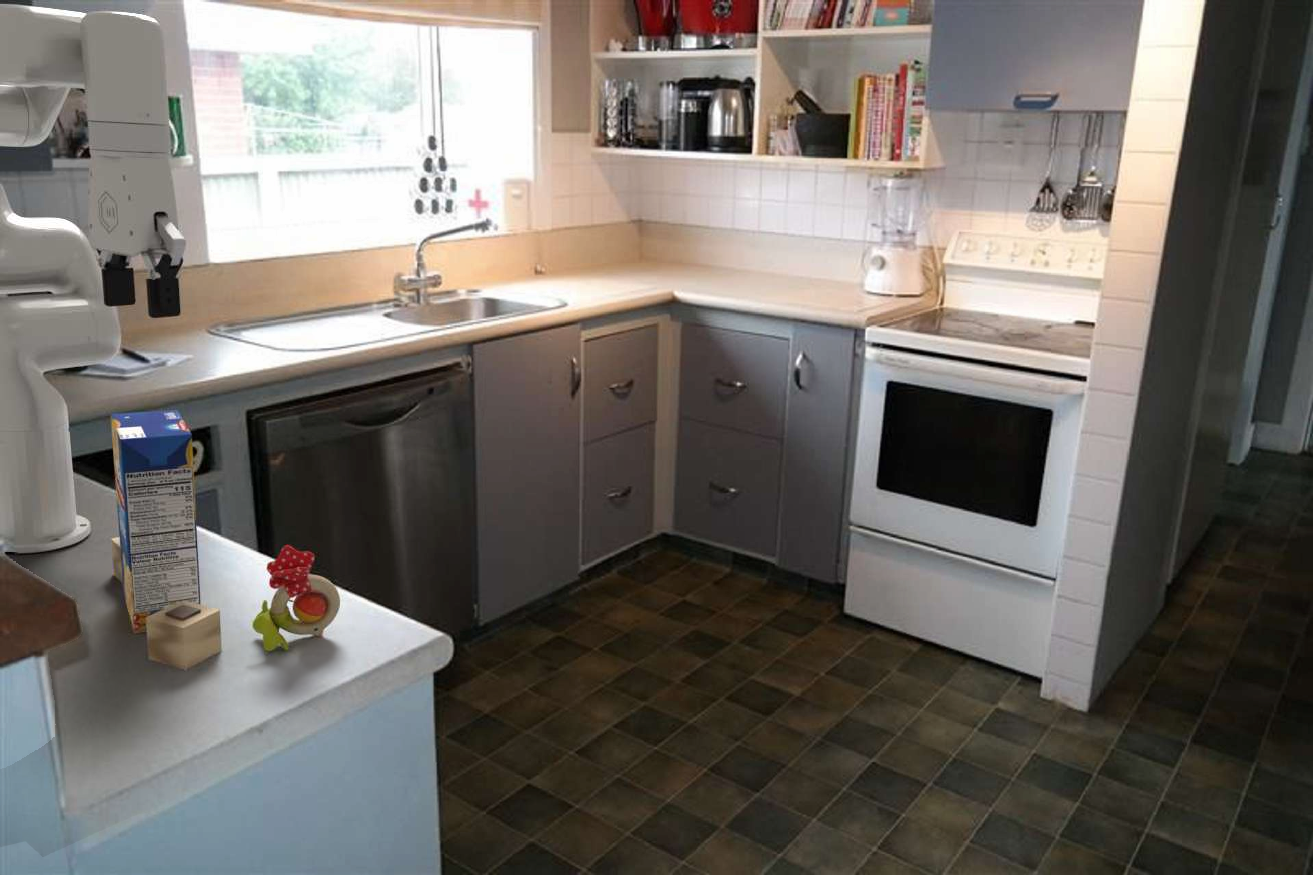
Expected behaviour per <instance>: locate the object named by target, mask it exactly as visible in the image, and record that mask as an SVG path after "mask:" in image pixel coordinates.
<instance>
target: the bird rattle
mask: <svg viewBox="0 0 1313 875" xmlns="http://www.w3.org/2000/svg"><path fill="white" fill-rule="evenodd" d="M315 557H316V556H315V554H314V553H313V552H311V551H306V550H305V551H299V550H297V549H295V548H294V547H292V546H291V545H289V544H286V545H284V547H282V549H281V550H280V553H279V555H278V557H277V559H275V560H272V561H269V562H268V563H267V566H266V571H267V573H268V574H269V575H270V578H269V582H268V584H269V587H270V588H271V589H274V590H276V591H275V593H274V594H273V597H272V600H271V604H270V608H268V601H267V599H264V600H263V602H262V604H261V605H262V606H261V611H260V612H259V613H258V614H257V615H256V617H254V620H253V621H252V629H253V630H254V632H256V633H258V634H261V635H262V642H263V647H264V649H265V650H266V651H268V652H269V651H271V652H272V651H273V650H275V649H276V648H277V647H278V645H279V646H280V647H281V648H282V649H283V650H284V651H286V652H288V651H289V649H290V645H289V643H288V642H287V640H286V639H285V637H284V636H283V635H282V634H281V633H280V629H281V630H283V631H285V632H288V633H289V634H293V635H298V636H306V635H307V636H308V635H311V636H315V637H321V636H322V635H323V634H324V630H325V629H326V628H327V627H328V626H330V625H331V624H332V623H333V621H334V620H335V618H336V617H337V615H338V613H339V610H340V606H341V599H340V598H341V597H340V594H339V591H338V589H337V587H336V586H335V585H334V584H333V583H332V582H331V580H329V579H327V578H326V577H323V576H321V575H318V574H317V575H316V574H310V572H311V569H312V567H313V563H314V561H315ZM293 598H294V600H292V599H293ZM289 602H291V603H292V612H293V614H294V616H295V618H294V617H293V615H292V614H291V611H290V608H289V606H288V605H287V604H288V603H289Z"/></svg>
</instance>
